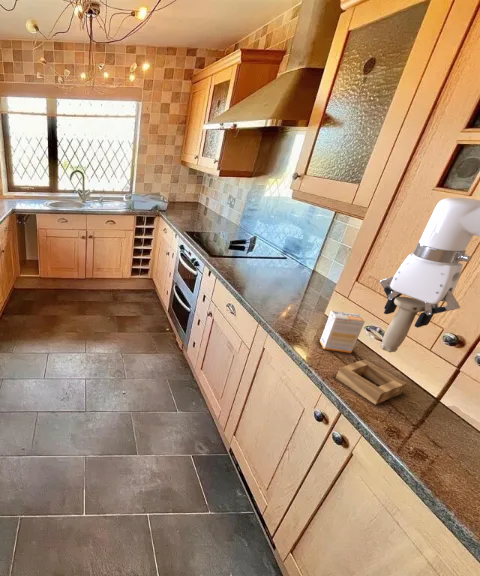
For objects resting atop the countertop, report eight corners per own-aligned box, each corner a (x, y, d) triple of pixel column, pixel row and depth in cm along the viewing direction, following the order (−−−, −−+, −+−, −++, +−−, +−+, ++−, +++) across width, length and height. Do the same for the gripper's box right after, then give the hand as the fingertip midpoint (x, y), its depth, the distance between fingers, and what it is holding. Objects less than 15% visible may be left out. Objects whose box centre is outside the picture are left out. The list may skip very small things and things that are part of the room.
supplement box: (345, 345, 107) (359, 313, 101) (351, 353, 103) (366, 321, 97) (318, 341, 110) (330, 309, 104) (323, 349, 106) (335, 317, 100)
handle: (406, 357, 81) (434, 308, 74) (375, 351, 83) (400, 303, 76) (399, 347, 84) (425, 299, 78) (370, 341, 87) (392, 295, 80)
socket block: (359, 369, 97) (364, 359, 95) (401, 393, 87) (407, 383, 85) (335, 378, 93) (339, 367, 91) (375, 404, 84) (381, 393, 82)
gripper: (499, 264, 65) (456, 334, 73) (403, 241, 80) (375, 301, 88) (480, 269, 63) (437, 341, 71) (384, 244, 77) (358, 306, 85)
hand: (403, 318), depth 79 cm, fingers closed on handle, 6 cm apart
